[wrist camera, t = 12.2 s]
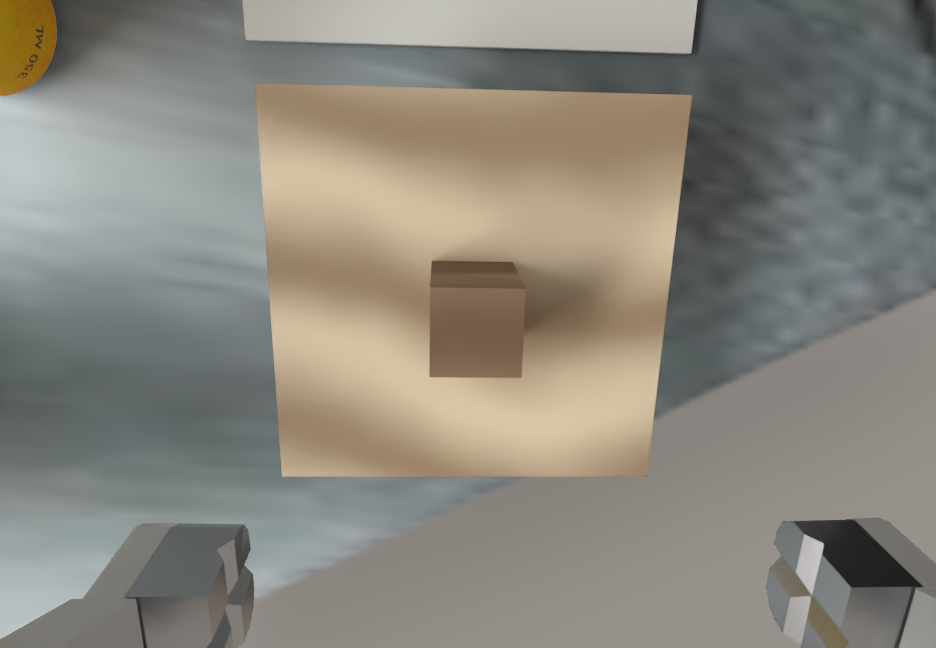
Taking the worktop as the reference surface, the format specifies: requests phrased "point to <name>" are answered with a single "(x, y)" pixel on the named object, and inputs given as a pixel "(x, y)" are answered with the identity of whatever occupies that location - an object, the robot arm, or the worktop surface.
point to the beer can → (25, 42)
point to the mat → (480, 23)
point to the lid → (468, 277)
